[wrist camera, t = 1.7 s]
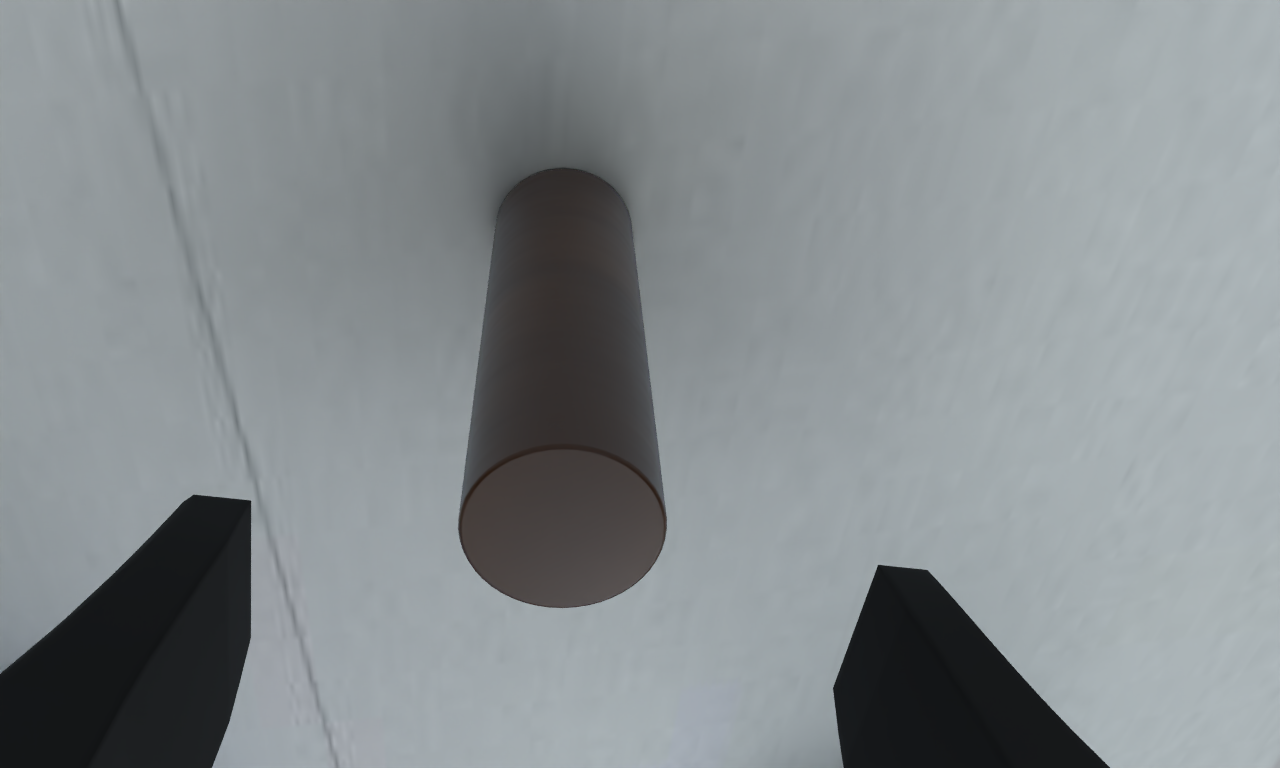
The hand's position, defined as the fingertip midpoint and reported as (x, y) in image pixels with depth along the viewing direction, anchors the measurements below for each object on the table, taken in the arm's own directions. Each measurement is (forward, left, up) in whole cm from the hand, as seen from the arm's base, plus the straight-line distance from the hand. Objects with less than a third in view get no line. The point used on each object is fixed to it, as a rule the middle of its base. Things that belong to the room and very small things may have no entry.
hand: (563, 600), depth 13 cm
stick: (0, 0, -10) cm, 10 cm away
